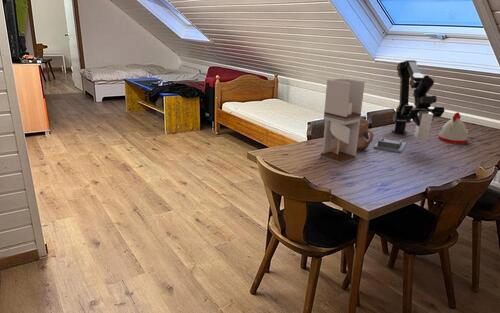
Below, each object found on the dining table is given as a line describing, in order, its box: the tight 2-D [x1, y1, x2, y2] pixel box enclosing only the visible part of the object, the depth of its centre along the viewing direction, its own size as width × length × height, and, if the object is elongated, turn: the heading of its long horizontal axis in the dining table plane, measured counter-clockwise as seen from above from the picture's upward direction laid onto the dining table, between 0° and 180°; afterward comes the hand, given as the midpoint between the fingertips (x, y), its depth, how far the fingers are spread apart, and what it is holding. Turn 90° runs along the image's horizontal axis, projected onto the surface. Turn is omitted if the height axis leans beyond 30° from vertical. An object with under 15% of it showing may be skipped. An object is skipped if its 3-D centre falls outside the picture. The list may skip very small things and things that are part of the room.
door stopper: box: [360, 115, 370, 141], centre depth 209 cm, size 9×6×12 cm, turn 40°
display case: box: [319, 77, 366, 165], centre depth 173 cm, size 11×11×35 cm
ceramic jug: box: [356, 118, 374, 152], centre depth 191 cm, size 18×14×14 cm
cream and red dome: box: [437, 111, 469, 144], centre depth 212 cm, size 14×14×15 cm
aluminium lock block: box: [413, 110, 434, 142], centre depth 189 cm, size 5×5×14 cm
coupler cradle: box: [373, 136, 407, 153], centre depth 199 cm, size 16×13×4 cm
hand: (424, 126), depth 188 cm, fingers closed on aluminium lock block, 5 cm apart
